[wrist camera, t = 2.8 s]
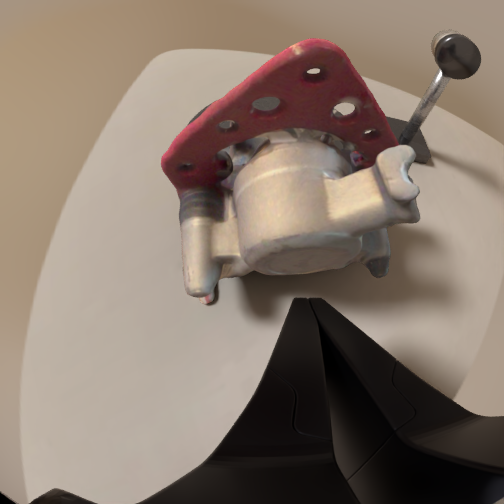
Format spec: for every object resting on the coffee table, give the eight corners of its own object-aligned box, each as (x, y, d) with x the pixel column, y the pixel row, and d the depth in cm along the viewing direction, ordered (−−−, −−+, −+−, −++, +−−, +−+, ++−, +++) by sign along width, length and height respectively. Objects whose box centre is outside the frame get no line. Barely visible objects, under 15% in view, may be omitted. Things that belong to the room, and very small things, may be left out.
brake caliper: (352, 109, 17) (478, 70, 5) (350, 261, 20) (446, 359, 9) (184, 109, 16) (106, 37, 5) (194, 268, 20) (151, 395, 8)
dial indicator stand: (425, 163, 19) (498, 62, 8) (389, 156, 19) (457, 37, 8) (413, 131, 20) (470, 34, 9) (379, 123, 20) (430, 12, 9)
